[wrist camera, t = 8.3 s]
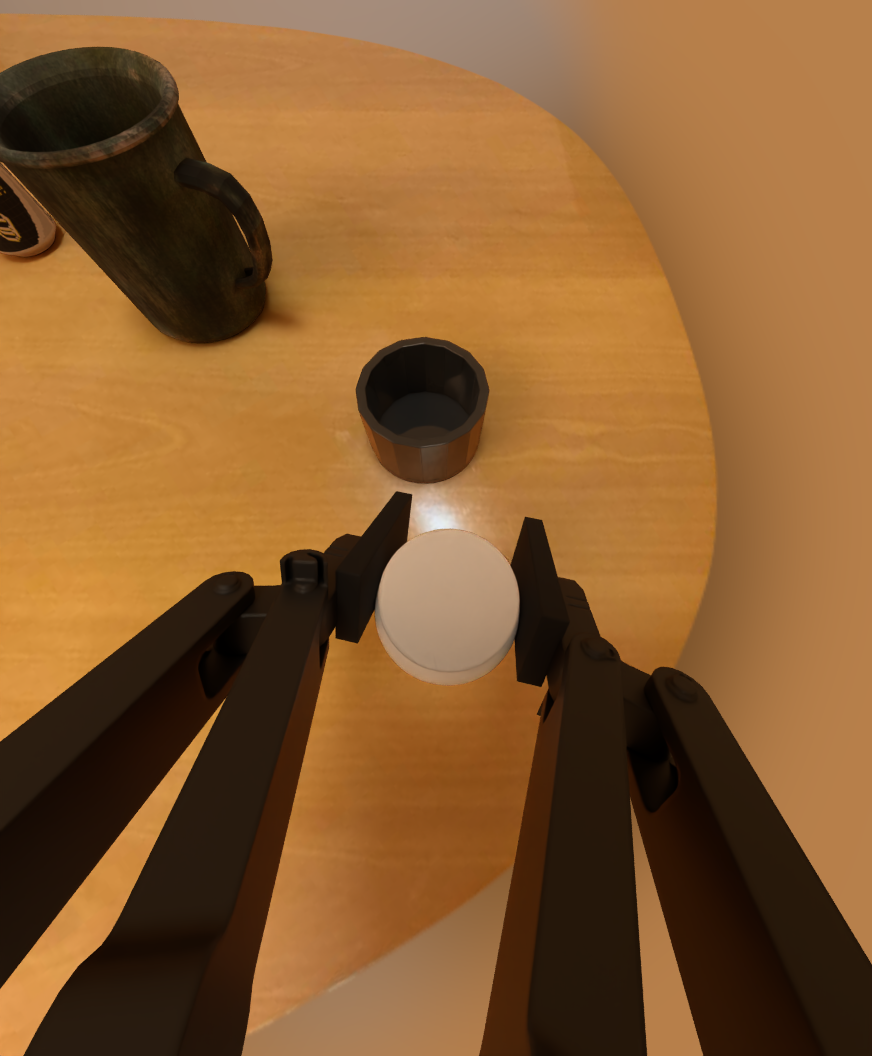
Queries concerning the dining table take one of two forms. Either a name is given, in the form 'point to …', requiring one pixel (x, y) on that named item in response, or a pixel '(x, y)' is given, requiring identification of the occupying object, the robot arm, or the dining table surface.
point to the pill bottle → (447, 607)
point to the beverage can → (22, 220)
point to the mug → (136, 187)
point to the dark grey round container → (423, 408)
